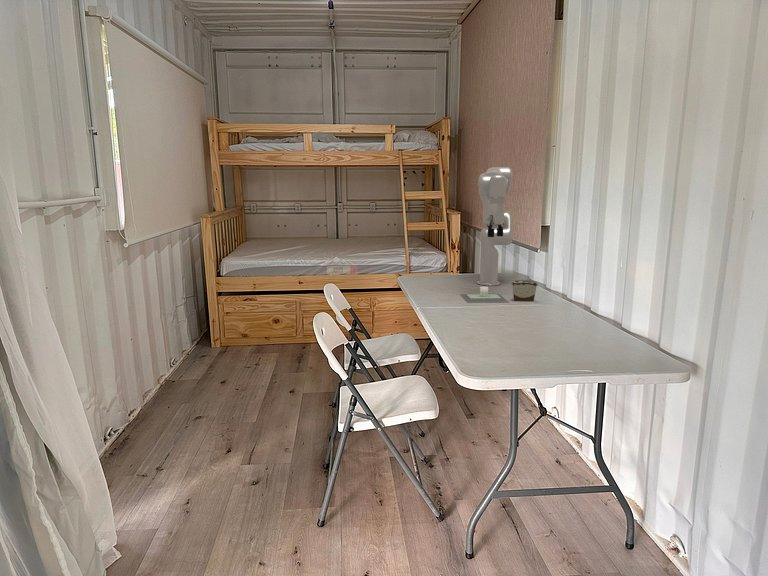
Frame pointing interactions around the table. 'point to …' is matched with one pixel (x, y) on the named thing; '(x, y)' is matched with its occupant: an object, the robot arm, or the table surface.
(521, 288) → the food container
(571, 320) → the table surface
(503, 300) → the mat
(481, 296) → the lid
